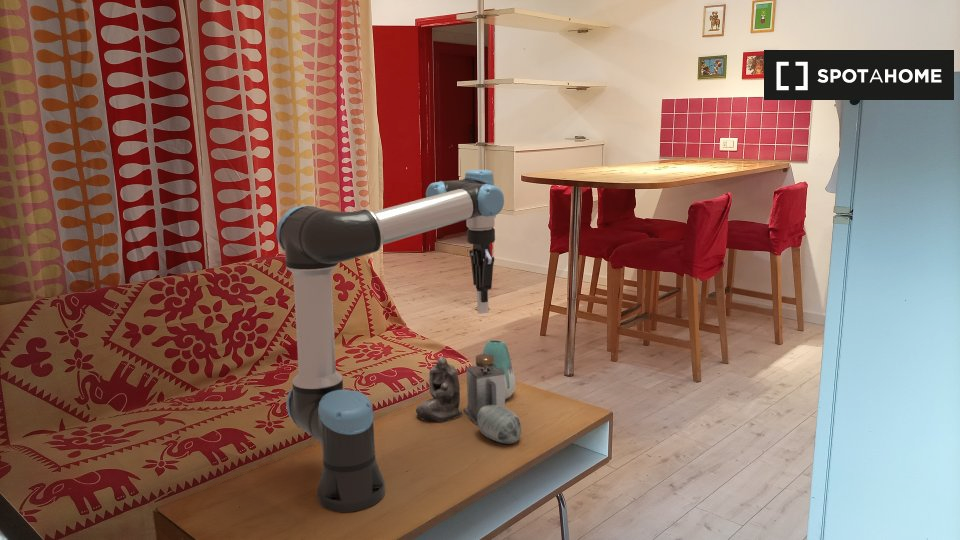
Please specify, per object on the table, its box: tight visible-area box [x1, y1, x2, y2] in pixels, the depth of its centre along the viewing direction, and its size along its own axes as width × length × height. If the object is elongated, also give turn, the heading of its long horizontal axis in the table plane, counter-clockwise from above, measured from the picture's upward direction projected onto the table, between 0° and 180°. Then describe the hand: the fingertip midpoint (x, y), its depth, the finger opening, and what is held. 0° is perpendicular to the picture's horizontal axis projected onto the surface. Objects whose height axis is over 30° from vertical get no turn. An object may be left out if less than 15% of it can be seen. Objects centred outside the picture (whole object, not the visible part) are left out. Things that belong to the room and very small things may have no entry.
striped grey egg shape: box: [477, 405, 522, 445], centre depth 191 cm, size 14×10×10 cm
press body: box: [463, 364, 506, 426], centre depth 203 cm, size 10×12×14 cm
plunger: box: [475, 353, 494, 372], centre depth 203 cm, size 6×6×13 cm
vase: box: [482, 339, 516, 400], centre depth 217 cm, size 12×12×18 cm
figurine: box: [415, 356, 463, 423], centre depth 205 cm, size 13×12×18 cm
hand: (483, 312), depth 199 cm, fingers closed
